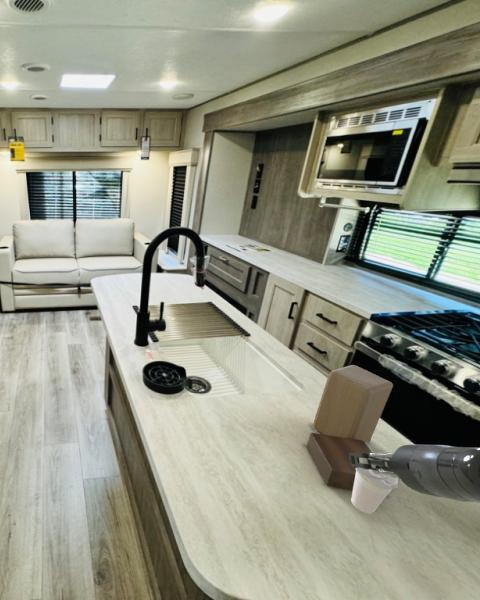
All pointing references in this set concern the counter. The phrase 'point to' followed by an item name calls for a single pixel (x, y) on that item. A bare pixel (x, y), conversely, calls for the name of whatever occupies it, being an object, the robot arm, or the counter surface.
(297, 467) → the counter surface
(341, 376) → the wooden block
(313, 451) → the walnut block
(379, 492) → the smoothie
